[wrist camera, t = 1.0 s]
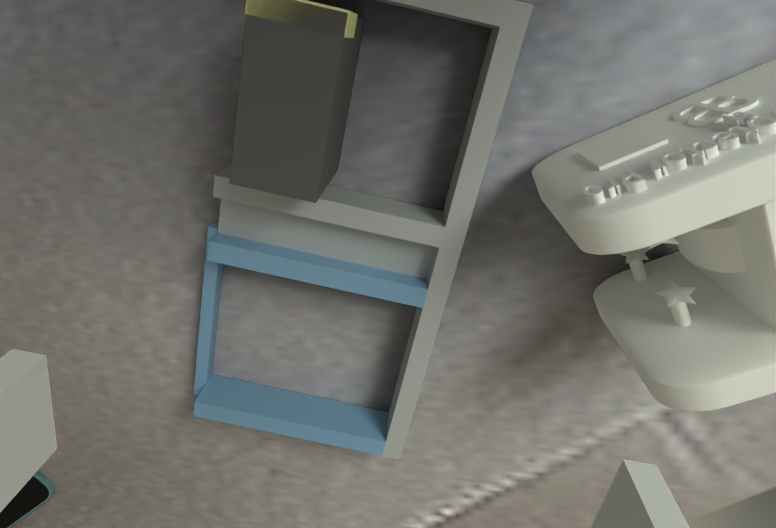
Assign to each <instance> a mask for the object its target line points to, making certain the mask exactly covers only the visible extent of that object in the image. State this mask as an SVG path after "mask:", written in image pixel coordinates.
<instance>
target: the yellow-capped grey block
mask: <svg viewBox="0 0 776 528" xmlns="http://www.w3.org/2000/svg"><path fill="white" fill-rule="evenodd" d="M245 14H246V21H245V31H244V42H243V52H242V62H241V72H240V82H239V92H238V102H237V112H236V122H235V132H234V142H233V152H232V162H231V172H230V182H229V184H233V185H237V186H242V187H246V188H250V189H255V190H259V191H264V192H268V193H273V194H277V195H282V196H286V197H291V198H295V199H299V200H304V201H308V202H313V203H316V202H317V201H318V199H319V198H320V196H321V195H322V193H323V192H324V190H325V188H326V187H327V185H328V184H329V182H330V181H331V179H332V178H333V176H334V174H335V173H336V171H337V170H338V165H339V159H340V154H341V148H342V143H343V137H344V132H345V126H346V121H347V115H348V110H349V104H350V99H351V93H352V88H353V82H354V77H355V71H356V66H357V60H358V55H359V49H360V44H361V38H362V32H363V27H364V21H365V20H363V19H361V18H358V14H356V13H354V12H352V11H349V10H345V9H341V8H337V7H332V6H328V5H324V4H320V3H316V2H311V1H307V0H246V9H245Z"/></svg>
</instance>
